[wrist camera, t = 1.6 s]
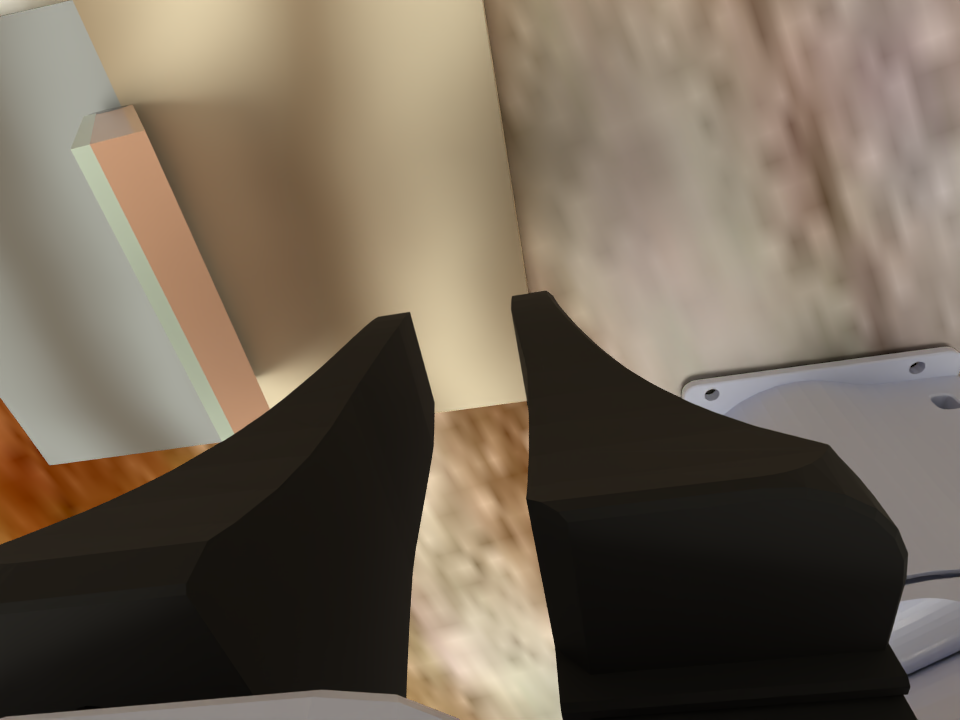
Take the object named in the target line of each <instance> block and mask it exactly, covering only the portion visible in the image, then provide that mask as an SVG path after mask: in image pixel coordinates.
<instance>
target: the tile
mask: <svg viewBox="0 0 960 720" xmlns="http://www.w3.org/2000/svg"><path fill="white" fill-rule="evenodd" d="M71 151H72V153H73V155H74V157H75V159H76V161H77V163H78V165H79V167H80V169H81V171H82V172H83V174H84V176H85V178H86V180H87V182H88V184H89V186H90V188H91V190H92V192H93V194H94V196H95V198H96V199H97V201H98V203H99V205H100V207H101V209H102V211H103V213H104V215H105V217H106V219H107V221H108V223H109V225H110V227H111V228H112V230H113V232H114V234H115V236H116V238H117V240H118V242H119V244H120V246H121V248H122V250H123V252H124V254H125V255H126V257H127V259H128V261H129V263H130V265H131V267H132V269H133V271H134V273H135V275H136V277H137V279H138V281H139V283H140V284H141V286H142V288H143V290H144V292H145V294H146V296H147V298H148V300H149V302H150V304H151V306H152V308H153V310H154V311H155V313H156V315H157V317H158V319H159V321H160V323H161V325H162V327H163V329H164V331H165V333H166V335H167V337H168V339H169V340H170V342H171V344H172V346H173V348H174V350H175V352H176V354H177V356H178V358H179V360H180V362H181V364H182V366H183V367H184V369H185V371H186V373H187V375H188V377H189V379H190V381H191V383H192V385H193V387H194V389H195V391H196V393H197V395H198V396H199V398H200V400H201V402H202V404H203V406H204V408H205V410H206V412H207V414H208V416H209V418H210V420H211V422H212V423H213V425H214V427H215V429H216V431H217V433H218V435H219V437H220V439H221V441H224V440H226V439H227V438H229V437H230V436H232V435H233V434H235V433H236V432H238V431H239V430H241V429H242V428H244V427H245V426H247V425H248V424H250V423H251V422H253V421H254V420H256V419H257V418H259V417H260V416H261V415H263V414H264V413H265V412H267V411H268V410H269V409H270V408H269V406H268V404H267V401H266V399H265V397H264V395H263V392H262V390H261V388H260V386H259V383H258V381H257V379H256V377H255V375H254V372H253V370H252V368H251V366H250V363H249V361H248V359H247V357H246V354H245V352H244V350H243V348H242V346H241V343H240V341H239V339H238V337H237V334H236V332H235V330H234V328H233V326H232V323H231V321H230V319H229V317H228V314H227V312H226V310H225V308H224V305H223V303H222V301H221V299H220V297H219V294H218V292H217V290H216V288H215V285H214V283H213V281H212V279H211V276H210V274H209V272H208V270H207V268H206V265H205V263H204V261H203V259H202V256H201V254H200V252H199V250H198V248H197V245H196V243H195V241H194V239H193V236H192V234H191V232H190V230H189V227H188V225H187V223H186V221H185V219H184V216H183V214H182V212H181V210H180V207H179V205H178V203H177V201H176V198H175V196H174V194H173V192H172V190H171V187H170V185H169V183H168V181H167V178H166V176H165V174H164V172H163V170H162V167H161V165H160V163H159V161H158V158H157V156H156V154H155V152H154V149H153V147H152V145H151V143H150V141H149V138H148V136H147V134H146V132H145V129H144V127H143V125H142V123H141V121H140V119H139V117H138V115H137V113H136V111H135V109H134V107H133V105H125V106H120V107H115V108H110V109H106V110H102V111H99V112H95V113H92V114H89V115H87V116H83V119H82V122H81V124H80V127H79V129H78V132H77V134H76V137H75V139H74V142H73V144H72V147H71Z"/></svg>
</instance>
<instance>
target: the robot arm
mask: <svg viewBox="0 0 960 720" xmlns="http://www.w3.org/2000/svg"><path fill="white" fill-rule="evenodd" d="M511 313H512V318H513V324H514V330H515V336H516V341H517V347H518V353H519V359H520V364H521V370H522V376H523V382H524V387H525V393H526V399H527V405H528V410H529V465H528V485H527V496H526V500H527V505H528V510H529V515H530V521H531V526H532V531H533V536H534V541H535V546H536V551H537V557H538V562H539V567H540V572H541V577H542V582H543V587H544V593H545V598H546V603H547V608H548V613H549V618H550V623H551V629H552V634H553V639H554V644H555V651H556V662H557V673H558V684H559V695H560V705H561V713H562V718H563V720H960V377H959V376H958V375H959V371H960V353H959V352H958V351H957V350H956V349H954V348H952V347H938V348H931V349H923V350H916V351H908V352H901V353H894V354H886V355H879V356H871V357H864V358H856V359H849V360H842V361H834V362H827V363H819V364H812V365H804V366H797V367H790V368H782V369H775V370H767V371H760V372H752V373H745V374H737V375H730V376H723V377H715V378H708V379H700V380H694V381H691V382H689V383H687V384H686V385H685V386H684V387H683V389H682V398H680V397H678V396H676V395H674V394H672V393H670V392H667V391H665V390H663V389H661V388H659V387H657V386H656V385H654V384H652V383H650V382H648V381H646V380H645V379H643V378H642V377H640V376H638V375H637V374H635V373H633V372H632V371H630V370H629V369H627V368H626V367H624V366H623V365H621V364H620V363H619V362H617V361H616V360H615V359H614V358H612V357H611V356H610V355H609V354H607V353H606V352H605V351H604V350H602V349H601V348H600V347H599V346H598V345H597V344H595V343H594V342H593V341H592V340H591V339H590V338H589V337H588V336H587V335H586V334H585V333H584V332H583V331H582V330H581V329H580V328H579V327H578V326H577V325H576V324H575V323H574V322H573V321H572V320H571V319H570V318H569V317H568V315H567V314H566V313H565V312H564V311H563V310H562V308H561V307H560V306H559V304H558V303H557V302H556V300H555V298H554V297H553V295H551V294H550V293H549V292H547V291H541V292H535V293H528V294H522V295H515V296H512V299H511ZM916 362H918V363H917V364H916V365H915V366H914V367H911V368H910V366H911V365H912V364H914V363H916ZM711 389H716V390H715V391H714V392H713V393H712V394H709V395H708V394H705V393H706V392H707V391H708V390H711ZM434 414H435V402H434V398H433V395H432V391H431V387H430V383H429V380H428V376H427V372H426V369H425V365H424V361H423V358H422V354H421V350H420V347H419V343H418V339H417V336H416V332H415V328H414V325H413V321H412V317H411V314H410V312H405V313H398V314H392V315H385V316H379V317H377V318H375V319H374V320H372V321H371V322H370V323H369V324H367V325H366V326H365V327H364V328H363V329H362V330H361V331H359V332H358V333H357V334H356V335H355V336H354V337H353V338H352V339H351V340H350V341H349V342H348V343H347V344H346V345H344V346H343V347H342V348H341V349H340V350H339V351H338V352H337V353H336V354H335V355H334V356H333V357H331V358H330V359H329V360H328V361H327V362H326V363H325V364H324V365H323V366H322V367H321V368H319V369H318V370H317V371H316V372H315V373H314V374H312V375H311V376H310V377H309V378H308V379H306V380H305V381H304V382H303V383H302V384H301V385H299V386H298V387H297V388H296V389H295V390H293V391H292V392H291V393H290V394H289V395H287V396H286V397H285V398H284V399H283V400H281V401H280V402H279V403H277V404H276V405H275V406H274V407H272V408H271V409H269V410H268V411H267V412H265V413H264V414H263V415H261V416H260V417H259V418H257V419H256V420H254V421H253V422H251V423H250V424H248V425H247V426H245V427H244V428H242V429H241V430H239V431H238V432H236V433H235V434H233V435H232V436H230V437H229V438H227V439H226V440H224V441H222V442H220V443H219V444H217V445H215V446H214V447H212V448H210V449H208V450H207V451H205V452H203V453H201V454H200V455H198V456H196V457H195V458H193V459H191V460H189V461H188V462H186V463H184V464H182V465H181V466H179V467H177V468H175V469H174V470H172V471H170V472H168V473H166V474H164V475H162V476H160V477H158V478H156V479H154V480H152V481H150V482H148V483H146V484H144V485H142V486H140V487H138V488H136V489H134V490H132V491H129V492H127V493H125V494H123V495H121V496H119V497H117V498H114V499H112V500H110V501H108V502H106V503H103V504H101V505H99V506H97V507H94V508H92V509H90V510H87V511H85V512H83V513H80V514H78V515H75V516H72V517H70V518H67V519H65V520H62V521H60V522H57V523H55V524H52V525H50V526H47V527H45V528H42V529H40V530H37V531H35V532H32V533H30V534H27V535H25V536H22V537H20V538H17V539H14V540H12V541H9V542H6V543H3V544H1V545H0V720H460V719H458V718H456V717H453V716H451V715H448V714H445V713H443V712H440V711H438V710H435V709H433V708H430V707H427V706H425V705H422V704H420V703H417V702H414V701H412V700H409V699H407V698H406V689H407V664H408V642H409V622H410V606H411V590H412V575H413V566H414V558H415V551H416V544H417V539H418V533H419V528H420V522H421V516H422V511H423V505H424V500H425V494H426V489H427V483H428V477H429V471H430V465H431V460H432V453H433V446H434Z"/></svg>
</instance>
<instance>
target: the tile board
mask: <svg viewBox="0 0 960 720" xmlns="http://www.w3.org/2000/svg"><path fill="white" fill-rule="evenodd" d="M125 105H133V107H134V109H135V111H136V113H137V115H138V117H139V119H140V121H141V123H142V125H143V127H144V129H145V132H146V134H147V136H148V138H149V141H150V143H151V145H152V147H153V149H154V152H155V154H156V156H157V158H158V161H159V163H160V165H161V167H162V170H163V172H164V174H165V176H166V178H167V181H168V183H169V185H170V187H171V190H172V192H173V194H174V196H175V198H176V201H177V203H178V205H179V207H180V210H181V212H182V214H183V216H184V219H185V221H186V223H187V225H188V227H189V230H190V232H191V234H192V236H193V239H194V241H195V243H196V245H197V248H198V250H199V252H200V254H201V256H202V259H203V261H204V263H205V265H206V268H207V270H208V272H209V274H210V276H211V279H212V281H213V283H214V285H215V288H216V290H217V292H218V294H219V297H220V299H221V301H222V303H223V305H224V308H225V310H226V312H227V314H228V317H229V319H230V321H231V323H232V326H233V328H234V330H235V332H236V334H237V337H238V339H239V341H240V343H241V346H242V348H243V350H244V352H245V354H246V357H247V359H248V361H249V363H250V366H251V368H252V370H253V372H254V375H255V377H256V379H257V381H258V383H259V386H260V388H261V390H262V392H263V395H264V397H265V399H266V401H267V404H268V406H269V408H270V409H271V408H272V407H274V406H275V405H276V404H277V403H279V402H280V401H281V400H283V399H284V398H285V397H286V396H287V395H289V394H290V393H291V392H292V391H293V390H295V389H296V388H297V387H298V386H299V385H301V384H302V383H303V382H304V381H305V380H306V379H308V378H309V377H310V376H311V375H312V374H314V373H315V372H316V371H317V370H318V369H319V368H321V367H322V366H323V365H324V364H325V363H326V362H327V361H328V360H329V359H330V358H331V357H333V356H334V355H335V354H336V353H337V352H338V351H339V350H340V349H341V348H342V347H343V346H344V345H346V344H347V343H348V342H349V341H350V340H351V339H352V338H353V337H354V336H355V335H356V334H357V333H358V332H359V331H361V330H362V329H363V328H364V327H365V326H366V325H367V324H369V323H370V322H371V321H372V320H374V319H375V318H377V317H379V316H385V315H392V314H398V313H405V312H410V314H411V317H412V321H413V325H414V328H415V332H416V336H417V339H418V343H419V347H420V350H421V354H422V358H423V361H424V365H425V369H426V372H427V376H428V380H429V383H430V387H431V391H432V395H433V398H434V402H435V413H440V412H448V411H455V410H462V409H470V408H477V407H485V406H492V405H499V404H507V403H514V402H522V401H527V399H526V393H525V387H524V382H523V376H522V370H521V364H520V359H519V353H518V347H517V341H516V336H515V330H514V324H513V318H512V313H511V299H512V296H515V295H522V294H528V286H527V280H526V273H525V267H524V260H523V254H522V247H521V241H520V234H519V228H518V222H517V215H516V209H515V202H514V196H513V189H512V183H511V176H510V170H509V163H508V157H507V150H506V144H505V137H504V131H503V124H502V118H501V111H500V105H499V99H498V92H497V86H496V79H495V73H494V66H493V60H492V53H491V47H490V40H489V34H488V27H487V21H486V14H485V8H484V1H483V0H70V1H66V2H62V3H57V4H53V5H48V6H44V7H39V8H35V9H31V10H26V11H22V12H17V13H13V14H9V15H4V16H0V398H1V399H2V400H3V402H4V403H5V404H6V406H7V407H8V409H9V410H10V411H11V413H12V414H13V415H14V417H15V418H16V420H17V421H18V422H19V424H20V425H21V427H22V428H23V429H24V431H25V432H26V433H27V435H28V436H29V438H30V439H31V440H32V442H33V443H34V444H35V446H36V447H37V449H38V450H39V451H40V453H41V454H42V455H43V457H44V458H45V460H46V461H47V462H48V464H49V465H55V464H62V463H69V462H77V461H84V460H92V459H99V458H107V457H114V456H121V455H129V454H136V453H144V452H151V451H158V450H166V449H173V448H181V447H188V446H196V445H203V444H210V443H218V442H222V441H221V439H220V437H219V435H218V433H217V431H216V429H215V427H214V425H213V423H212V422H211V420H210V418H209V416H208V414H207V412H206V410H205V408H204V406H203V404H202V402H201V400H200V398H199V396H198V395H197V393H196V391H195V389H194V387H193V385H192V383H191V381H190V379H189V377H188V375H187V373H186V371H185V369H184V367H183V366H182V364H181V362H180V360H179V358H178V356H177V354H176V352H175V350H174V348H173V346H172V344H171V342H170V340H169V339H168V337H167V335H166V333H165V331H164V329H163V327H162V325H161V323H160V321H159V319H158V317H157V315H156V313H155V311H154V310H153V308H152V306H151V304H150V302H149V300H148V298H147V296H146V294H145V292H144V290H143V288H142V286H141V284H140V283H139V281H138V279H137V277H136V275H135V273H134V271H133V269H132V267H131V265H130V263H129V261H128V259H127V257H126V255H125V254H124V252H123V250H122V248H121V246H120V244H119V242H118V240H117V238H116V236H115V234H114V232H113V230H112V228H111V227H110V225H109V223H108V221H107V219H106V217H105V215H104V213H103V211H102V209H101V207H100V205H99V203H98V201H97V199H96V198H95V196H94V194H93V192H92V190H91V188H90V186H89V184H88V182H87V180H86V178H85V176H84V174H83V172H82V171H81V169H80V167H79V165H78V163H77V161H76V159H75V157H74V155H73V153H72V151H71V147H72V144H73V142H74V139H75V137H76V134H77V132H78V129H79V127H80V124H81V122H82V119H83V116H87V115H89V114H92V113H95V112H99V111H102V110H106V109H110V108H115V107H120V106H125Z"/></svg>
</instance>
